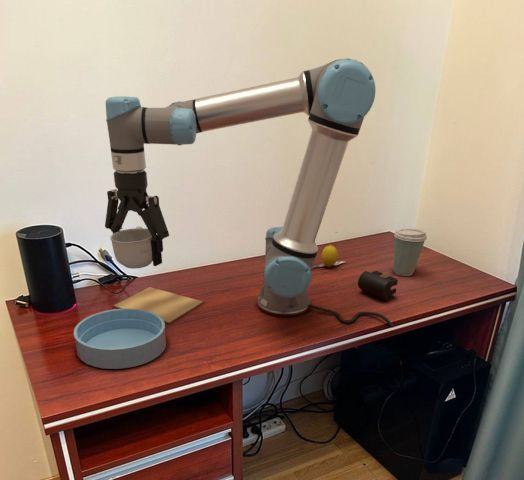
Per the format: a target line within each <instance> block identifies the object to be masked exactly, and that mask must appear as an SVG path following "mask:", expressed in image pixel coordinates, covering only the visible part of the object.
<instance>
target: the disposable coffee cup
mask: <svg viewBox="0 0 524 480" xmlns="http://www.w3.org/2000/svg"><path fill="white" fill-rule="evenodd" d="M427 237H428V236H427V231H425V230H424V229H419V228H409V227H408V228H398V229H397V230H395V232H394V233H393V265H392V267H393V268H392V269H393V273H394V274H395V275H397V276H400V277H401V276H402V277H411V276H412V275H413V274H414V272H415V269H416V267H417V264H418V261H419V258H420V256H421V254H422V253H421V252H422V250H423V246H424V245H425V242H426V240H427Z"/></svg>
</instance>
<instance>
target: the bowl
mask: <svg viewBox="0 0 524 480" xmlns="http://www.w3.org/2000/svg"><path fill="white" fill-rule="evenodd" d="M73 337H74V344H75V349H76V355H77V357H78V358H79V359H80V360H81V361H82V362H83V363H84V364H86V365H89V366H90V367H91V366H92V367H94V368H100V369H107V370H120V369H128V368H129V369H130V368H134V367H137V366H138V367H139V366H141V365H145V364H148V363H149V362H152V361H154V360H156V359H157V358H158V357H160V356H161V355H162V354H163V353H164V351H165V350H166V347H167V335H166V323H165V322H164V321H163V319H162V318H161V317H160V316H159V315H157V314H155V313H153V312H149V311H146V310H141V309H129V308H126V309H119V308H114V309H107V310H104V311H99V312H97V313H94V314H90V315H89V316H86V317H85V318H83V319H82V320H81V321H79V322H78V323H77V324H76V326H75V327H74V329H73Z"/></svg>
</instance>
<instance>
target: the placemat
mask: <svg viewBox="0 0 524 480" xmlns="http://www.w3.org/2000/svg"><path fill="white" fill-rule="evenodd" d="M203 303H204V301H203V300H200V299H196V298H192V297H188V296H184V295H181V294H177V293H174V292H171V291H167V290H162V289H159V288H155V287H151V286H149V287H147V288H145V289H143V290H141V291H139V292H137V293H135V294H133V295H131V296H129V297H127V298H125V299H123V300H121V301H120V302H117V303H115V304H113V308H114V309H126V308H129V309H141V310H146V311H149V312H153V313H155V314H157V315H159V316H160V317H161V318H162V319H163V321H164V323H165V324H168V325H170V324H171V323H173V322H175V321H176V320H178V319H179V318H181V317H184V315H187V314H188V313H189V312H191V311H193V310H194V309H196V308H197V307H199V306H201V305H202V304H203Z"/></svg>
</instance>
